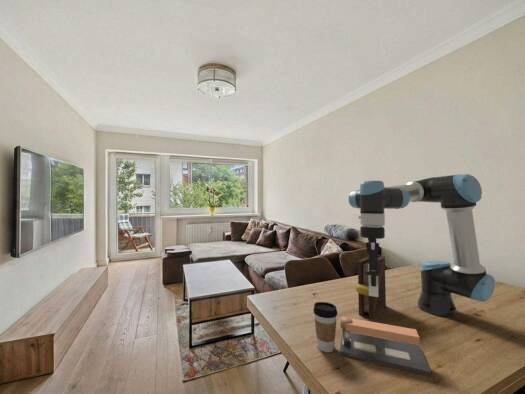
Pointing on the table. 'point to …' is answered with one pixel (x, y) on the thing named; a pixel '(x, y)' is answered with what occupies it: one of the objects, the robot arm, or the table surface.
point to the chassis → (384, 352)
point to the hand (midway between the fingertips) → (372, 289)
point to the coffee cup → (325, 325)
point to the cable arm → (380, 330)
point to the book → (365, 301)
